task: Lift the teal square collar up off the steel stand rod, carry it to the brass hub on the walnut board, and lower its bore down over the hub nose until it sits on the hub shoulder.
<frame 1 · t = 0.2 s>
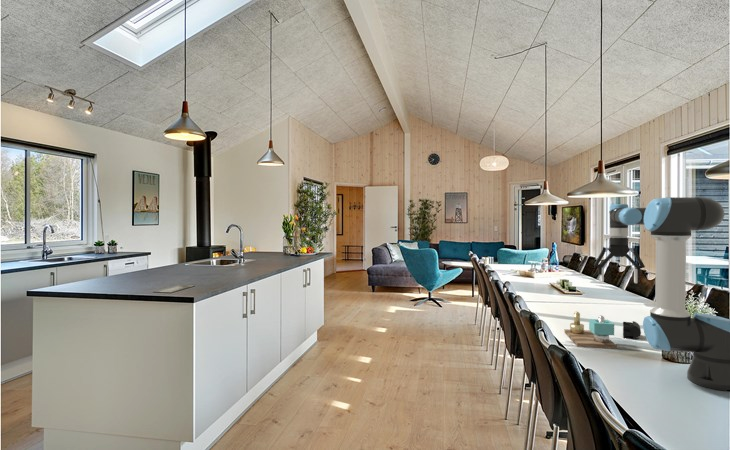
hand: (618, 282, 196), 27 cm above the table, tool pointing down, fingers open, 13 cm apart
hub: (577, 335, 204), resting on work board
collar: (601, 332, 190), point 5 cm above the table, touching stand rod
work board: (588, 339, 197), on the table
stand rod: (601, 344, 190), resting on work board
end cap: (631, 337, 201), on the table
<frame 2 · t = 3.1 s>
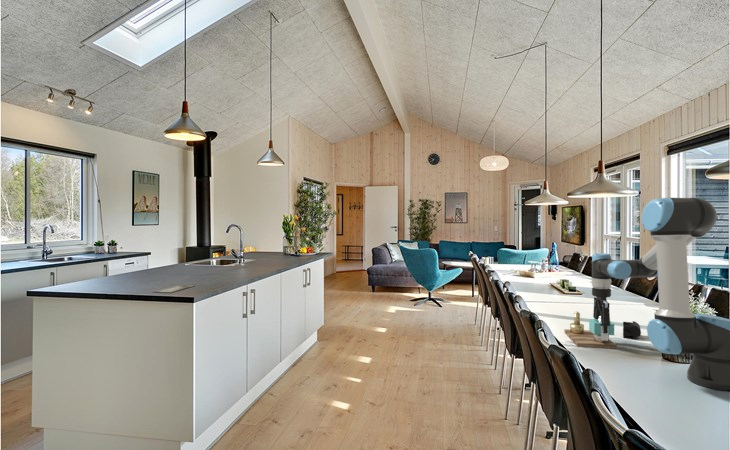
hand: (601, 337, 190), 3 cm above the table, tool pointing down, fingers closed on collar, 8 cm apart
collar: (601, 332, 190), point 6 cm above the table, touching gripper, stand rod
everything else where it was.
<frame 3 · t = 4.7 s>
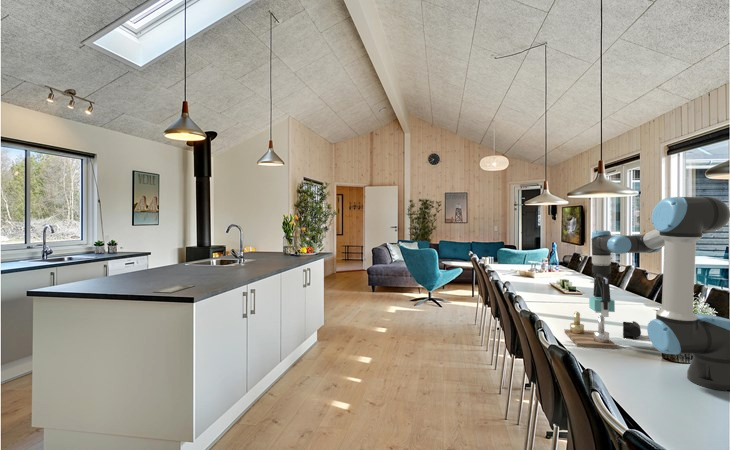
hand: (601, 314, 189), 14 cm above the table, tool pointing down, fingers closed on collar, 8 cm apart
collar: (601, 309, 189), point 16 cm above the table, touching gripper
everything else where it was.
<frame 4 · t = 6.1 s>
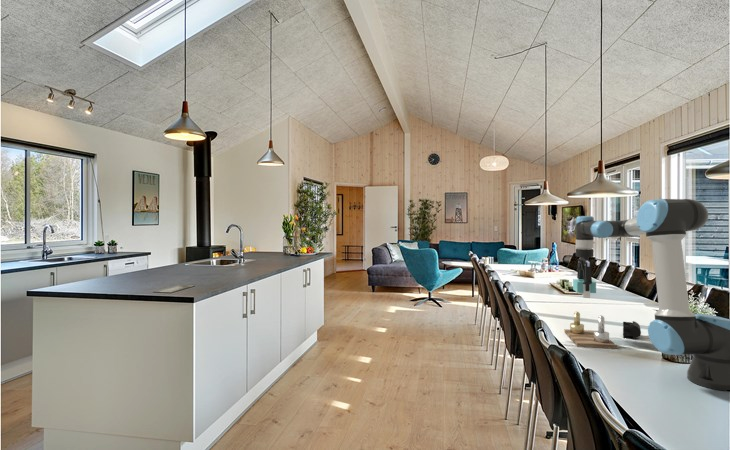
hand: (584, 295, 200), 20 cm above the table, tool pointing down, fingers closed on collar, 8 cm apart
collar: (584, 291, 200), point 23 cm above the table, touching gripper
everything else where it was.
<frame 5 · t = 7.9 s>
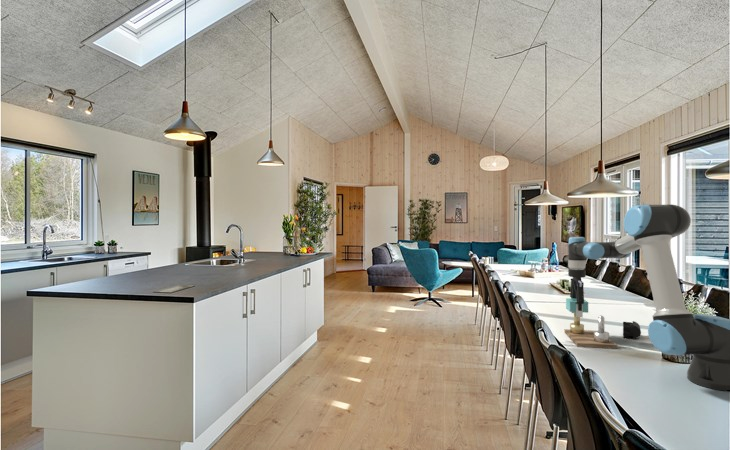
hand: (576, 315, 204), 10 cm above the table, tool pointing down, fingers closed on collar, 8 cm apart
collar: (576, 310, 204), point 12 cm above the table, touching gripper
everything else where it was.
when the fingers open (4 cm above the table, at t = 9.5 s): collar stays where it is, resting on hub.
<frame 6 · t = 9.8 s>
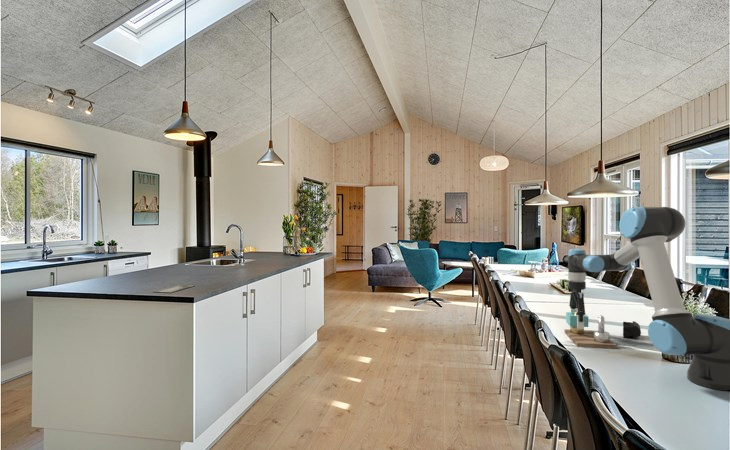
hand: (577, 325, 204), 5 cm above the table, tool pointing down, fingers open, 11 cm apart
collar: (577, 324, 204), point 5 cm above the table, touching hub
everything else where it was.
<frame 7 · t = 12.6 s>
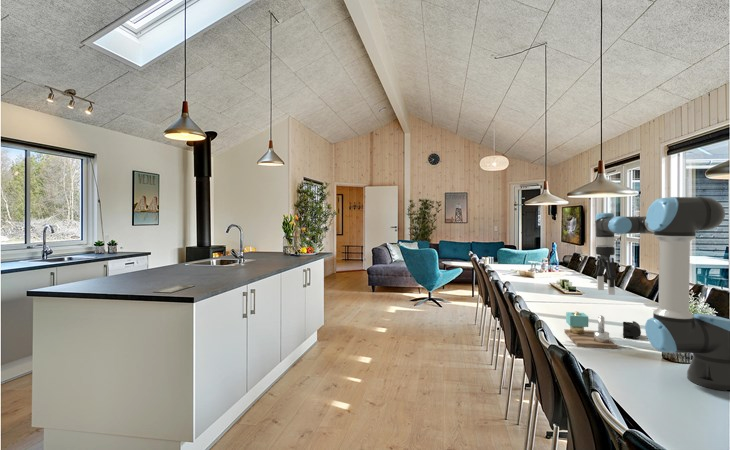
hand: (605, 292, 193), 23 cm above the table, tool pointing down, fingers open, 13 cm apart
nothing on the table moved.
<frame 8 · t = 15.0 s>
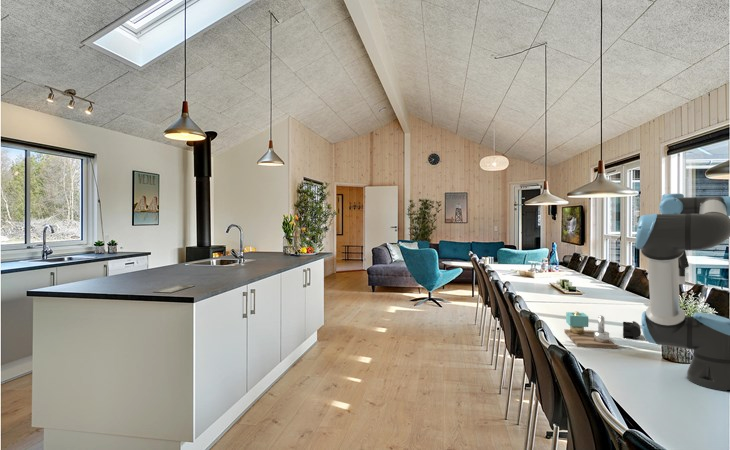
hand: (672, 281, 174), 31 cm above the table, tool pointing down, fingers open, 13 cm apart
nothing on the table moved.
at the end: collar 0.0 cm off-centre on the hub, point 5.5 cm above the hub's base; collar tilted 0°; the gripper is holding nothing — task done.
